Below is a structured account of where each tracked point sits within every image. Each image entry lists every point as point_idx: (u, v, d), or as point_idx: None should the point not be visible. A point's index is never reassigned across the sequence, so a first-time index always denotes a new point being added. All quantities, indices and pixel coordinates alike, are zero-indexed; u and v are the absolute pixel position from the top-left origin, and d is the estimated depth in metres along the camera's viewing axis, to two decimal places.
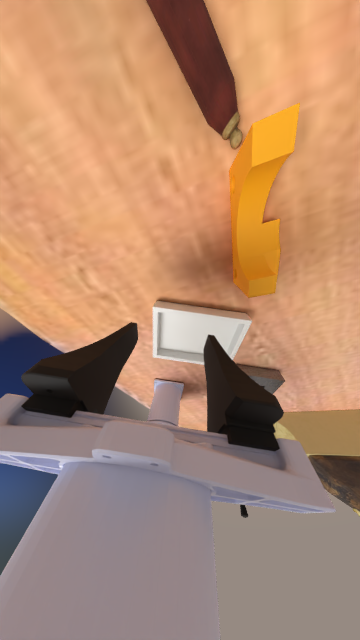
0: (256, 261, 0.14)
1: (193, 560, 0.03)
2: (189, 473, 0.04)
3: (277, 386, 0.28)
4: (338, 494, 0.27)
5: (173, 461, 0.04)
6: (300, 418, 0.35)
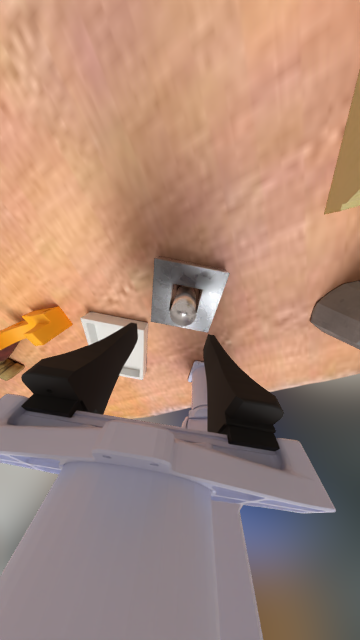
0: None
1: (193, 560, 0.03)
2: (189, 473, 0.04)
3: (172, 264, 0.17)
4: None
5: (173, 461, 0.04)
6: None
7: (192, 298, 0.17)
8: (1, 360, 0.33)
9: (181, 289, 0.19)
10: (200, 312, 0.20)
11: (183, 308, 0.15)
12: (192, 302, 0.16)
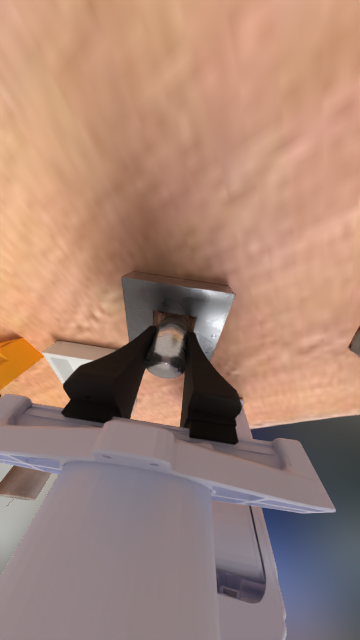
0: None
1: (193, 561, 0.03)
2: (189, 473, 0.04)
3: (148, 284, 0.11)
4: None
5: (173, 461, 0.04)
6: None
7: (180, 334, 0.11)
8: None
9: (167, 316, 0.14)
10: None
11: (164, 357, 0.09)
12: (179, 343, 0.10)
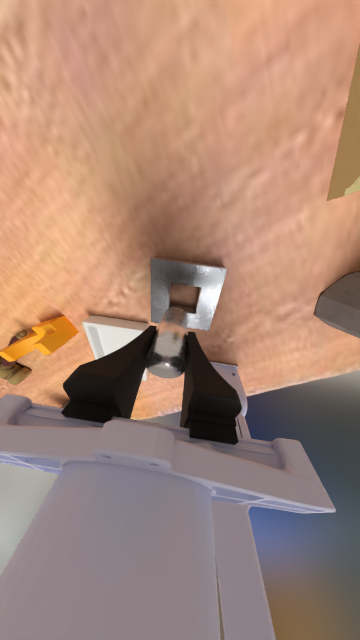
0: None
1: (193, 561, 0.03)
2: (189, 473, 0.04)
3: (168, 263, 0.17)
4: None
5: (173, 461, 0.04)
6: None
7: (180, 333, 0.11)
8: (9, 365, 0.34)
9: (167, 315, 0.14)
10: (200, 310, 0.20)
11: (164, 357, 0.09)
12: (179, 343, 0.10)
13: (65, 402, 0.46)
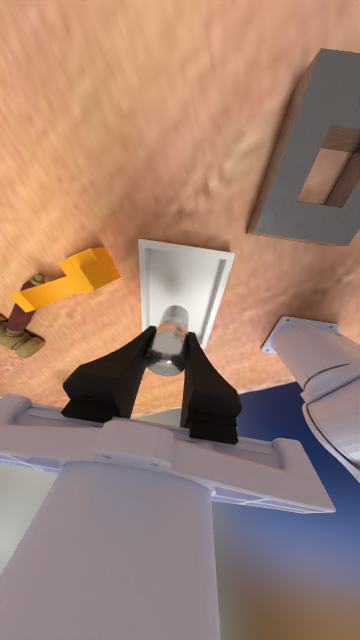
0: None
1: (194, 560, 0.03)
2: (189, 473, 0.04)
3: (352, 63, 0.08)
4: None
5: (173, 461, 0.04)
6: None
7: (182, 332, 0.11)
8: (17, 329, 0.25)
9: (169, 313, 0.13)
10: (355, 198, 0.12)
11: (165, 355, 0.09)
12: (181, 342, 0.10)
13: None
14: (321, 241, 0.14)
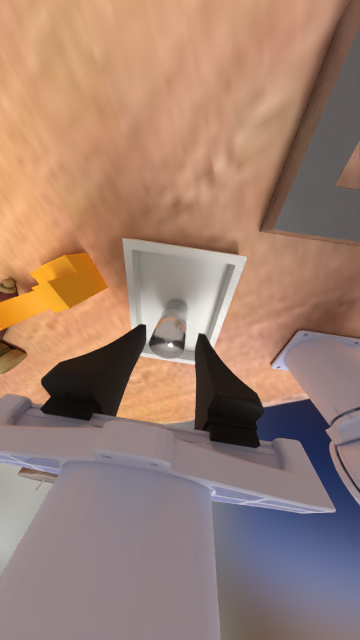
0: None
1: (193, 561, 0.03)
2: (189, 473, 0.04)
3: None
4: None
5: (173, 461, 0.04)
6: None
7: (182, 321, 0.13)
8: None
9: (170, 305, 0.15)
10: None
11: (167, 338, 0.11)
12: (181, 329, 0.12)
13: None
14: None
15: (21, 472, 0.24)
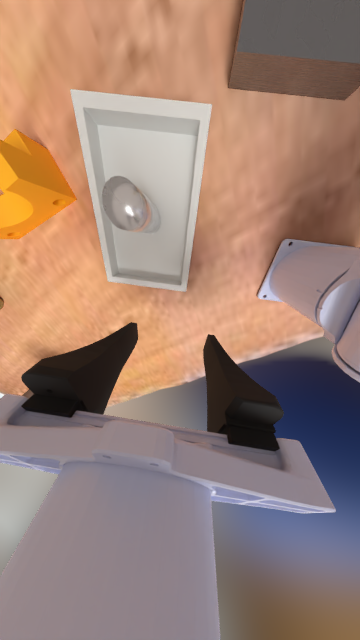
0: None
1: (193, 560, 0.03)
2: (189, 473, 0.04)
3: None
4: None
5: (173, 461, 0.04)
6: None
7: (145, 196, 0.11)
8: None
9: None
10: None
11: (121, 189, 0.09)
12: (141, 192, 0.10)
13: None
14: (341, 60, 0.09)
15: None
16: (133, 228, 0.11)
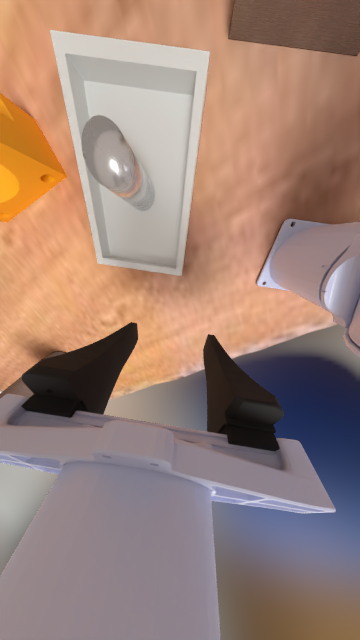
0: None
1: (193, 560, 0.03)
2: (189, 473, 0.04)
3: None
4: None
5: (173, 461, 0.04)
6: None
7: None
8: None
9: None
10: None
11: (104, 133, 0.08)
12: (128, 145, 0.09)
13: (48, 355, 0.32)
14: None
15: None
16: (118, 185, 0.09)
